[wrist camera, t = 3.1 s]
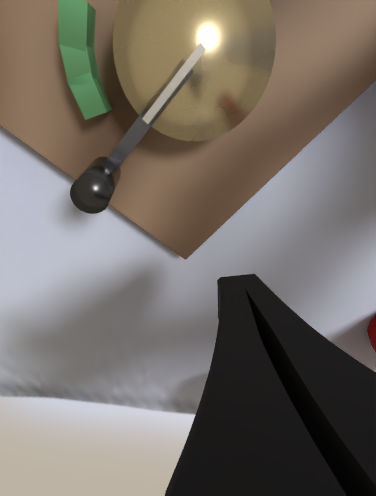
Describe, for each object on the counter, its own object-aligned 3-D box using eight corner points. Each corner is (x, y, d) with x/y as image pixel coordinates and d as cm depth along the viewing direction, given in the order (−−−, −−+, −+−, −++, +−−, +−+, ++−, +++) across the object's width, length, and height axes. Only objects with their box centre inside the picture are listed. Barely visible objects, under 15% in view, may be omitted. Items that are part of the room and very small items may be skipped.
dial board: (408, 33, 13) (461, 23, 11) (184, 249, 19) (187, 274, 16) (199, -402, 8) (215, -618, 5) (-33, 89, 13) (-76, 90, 11)
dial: (189, -111, 8) (201, -197, 6) (300, 52, 11) (344, 43, 8) (36, 138, 12) (0, 155, 9) (147, 220, 14) (143, 252, 12)
